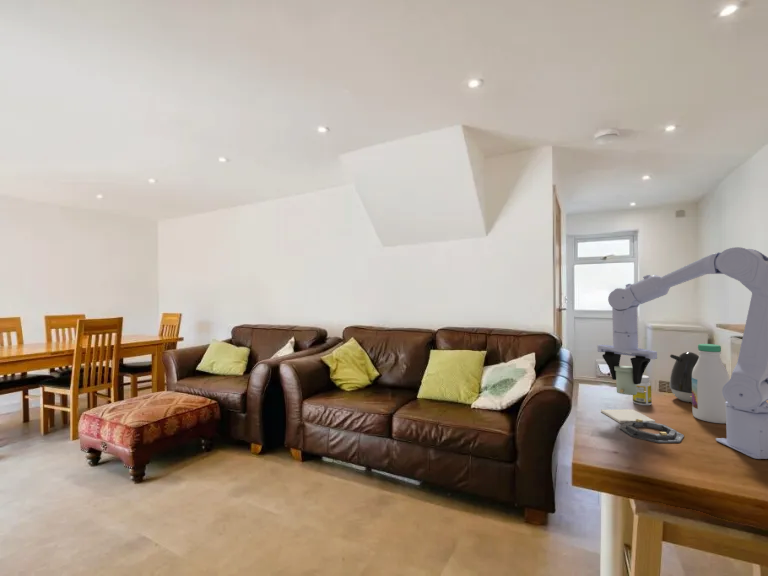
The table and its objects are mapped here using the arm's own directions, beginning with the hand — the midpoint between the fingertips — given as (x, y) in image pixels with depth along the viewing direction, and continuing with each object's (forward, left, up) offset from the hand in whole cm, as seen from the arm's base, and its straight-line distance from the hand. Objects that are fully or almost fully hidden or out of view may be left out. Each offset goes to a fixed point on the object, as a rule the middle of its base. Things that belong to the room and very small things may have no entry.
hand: (626, 381), depth 100 cm
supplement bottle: (+12, -12, -10) cm, 20 cm away
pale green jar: (0, 0, -3) cm, 3 cm away
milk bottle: (-2, -21, -10) cm, 23 cm away
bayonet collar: (-11, +1, -10) cm, 15 cm away
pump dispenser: (+14, -28, -10) cm, 33 cm away
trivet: (0, 0, -10) cm, 10 cm away
